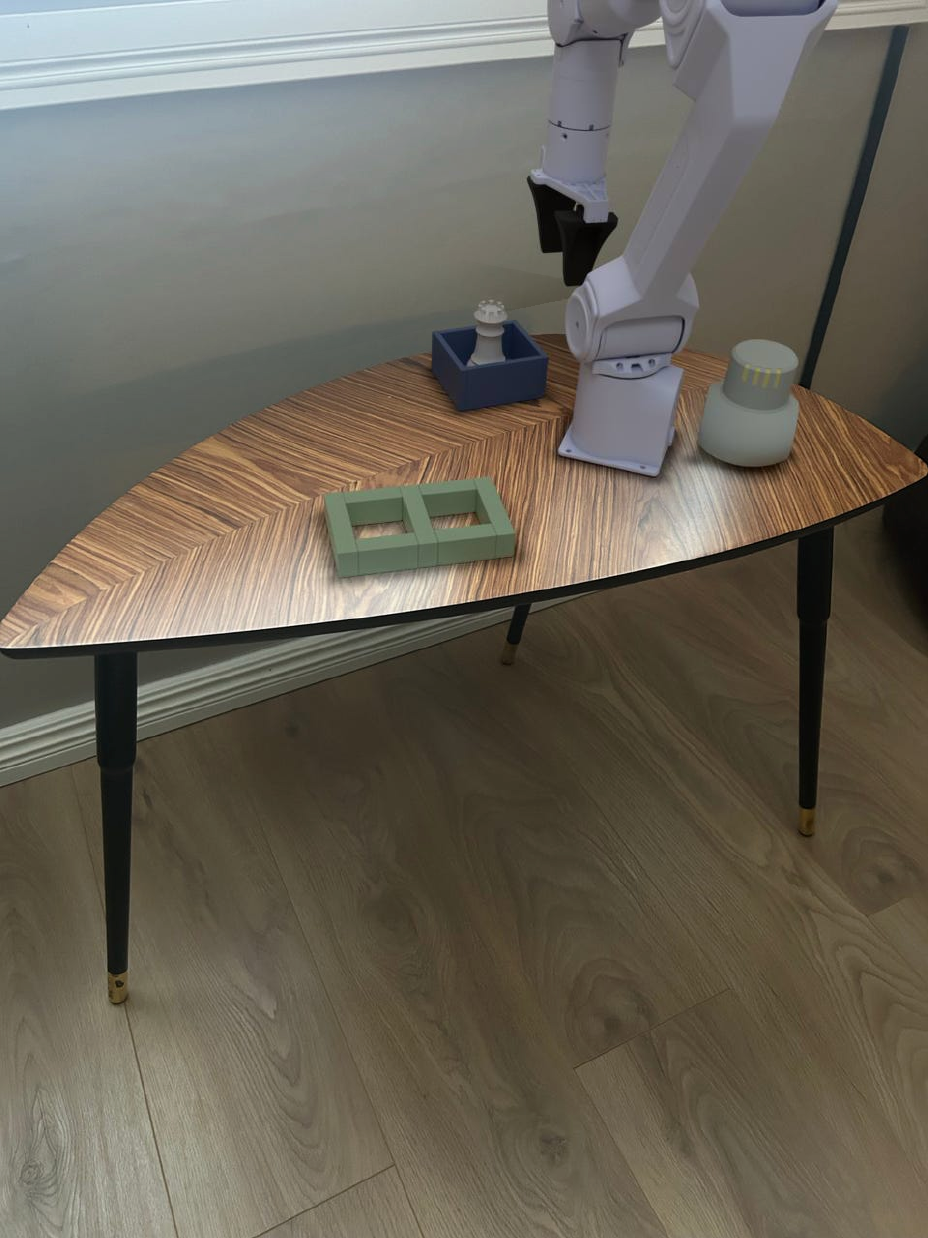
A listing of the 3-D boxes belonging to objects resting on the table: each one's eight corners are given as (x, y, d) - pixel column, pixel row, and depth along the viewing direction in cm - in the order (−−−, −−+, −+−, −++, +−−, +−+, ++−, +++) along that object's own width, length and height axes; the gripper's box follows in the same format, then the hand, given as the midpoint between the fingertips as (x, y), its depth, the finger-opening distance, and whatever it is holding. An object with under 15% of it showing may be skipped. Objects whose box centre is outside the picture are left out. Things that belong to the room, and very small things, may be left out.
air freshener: (780, 489, 91) (811, 391, 84) (689, 471, 93) (712, 374, 86) (786, 427, 99) (815, 333, 92) (702, 412, 100) (724, 318, 94)
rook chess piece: (504, 393, 100) (510, 319, 95) (460, 387, 101) (464, 313, 95) (511, 372, 104) (518, 298, 98) (469, 366, 104) (473, 292, 99)
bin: (512, 358, 107) (516, 319, 104) (544, 397, 101) (549, 356, 98) (431, 371, 104) (432, 331, 101) (459, 411, 98) (461, 370, 95)
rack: (488, 499, 88) (490, 475, 86) (513, 556, 83) (515, 532, 81) (325, 517, 85) (323, 493, 84) (338, 578, 80) (337, 553, 78)
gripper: (514, 97, 94) (504, 239, 104) (561, 149, 84) (545, 303, 93) (586, 95, 96) (569, 236, 105) (640, 146, 86) (617, 298, 95)
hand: (563, 267), depth 99 cm, fingers open, 7 cm apart
